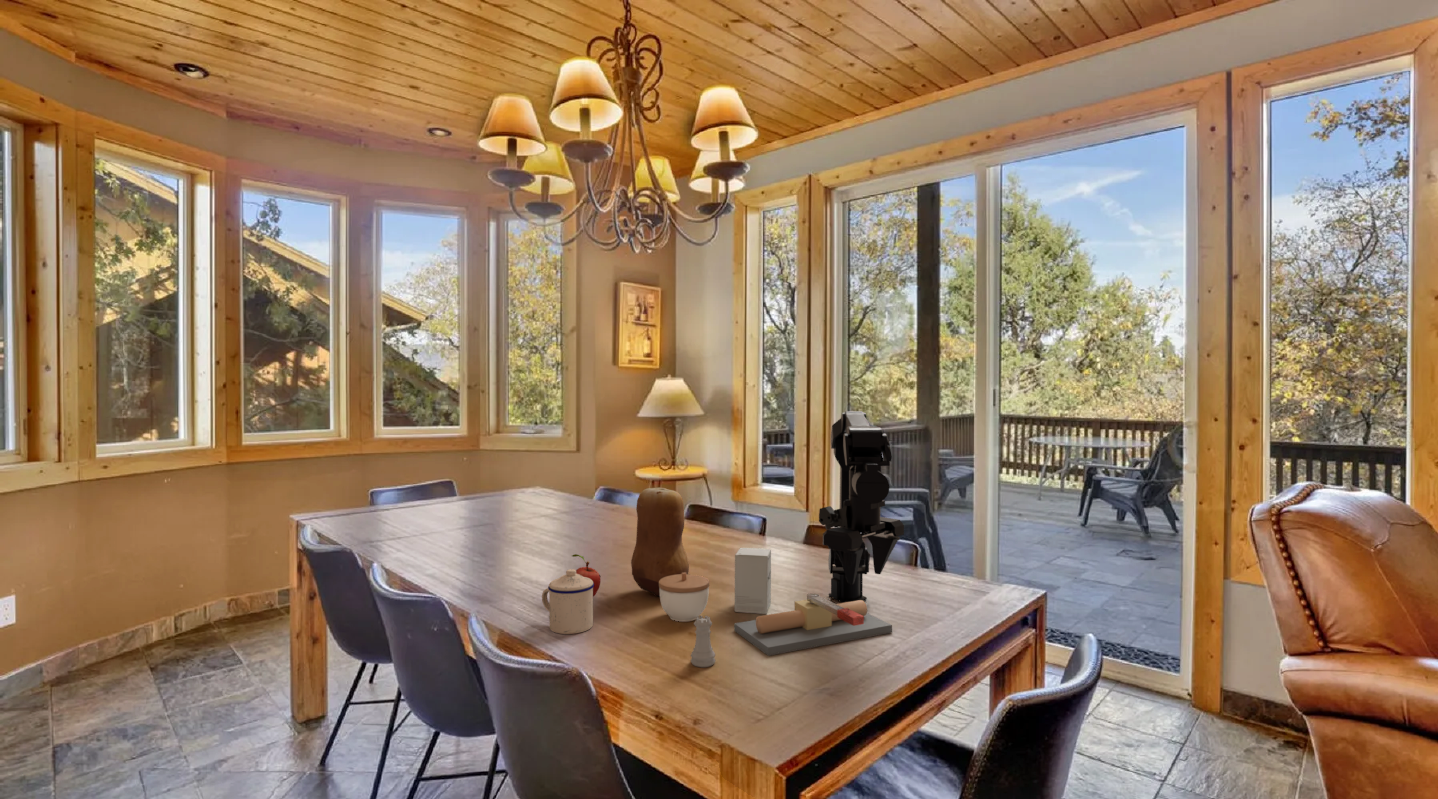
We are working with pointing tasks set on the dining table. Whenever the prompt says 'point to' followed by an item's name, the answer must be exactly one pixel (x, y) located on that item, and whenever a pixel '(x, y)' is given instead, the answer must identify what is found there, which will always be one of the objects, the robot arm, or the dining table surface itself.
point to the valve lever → (836, 609)
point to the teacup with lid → (570, 603)
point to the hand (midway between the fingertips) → (864, 578)
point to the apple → (589, 575)
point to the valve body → (808, 628)
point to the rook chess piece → (703, 644)
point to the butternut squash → (658, 538)
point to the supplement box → (753, 580)
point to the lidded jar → (684, 596)
